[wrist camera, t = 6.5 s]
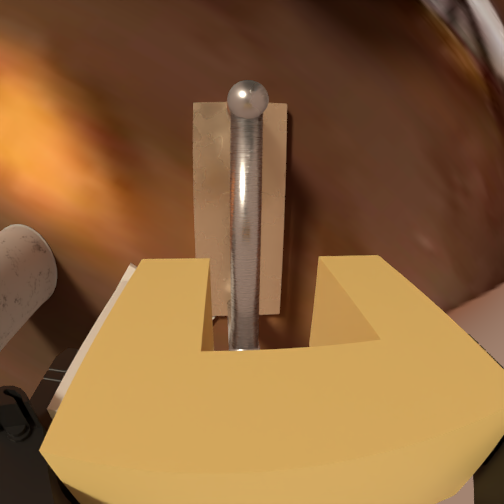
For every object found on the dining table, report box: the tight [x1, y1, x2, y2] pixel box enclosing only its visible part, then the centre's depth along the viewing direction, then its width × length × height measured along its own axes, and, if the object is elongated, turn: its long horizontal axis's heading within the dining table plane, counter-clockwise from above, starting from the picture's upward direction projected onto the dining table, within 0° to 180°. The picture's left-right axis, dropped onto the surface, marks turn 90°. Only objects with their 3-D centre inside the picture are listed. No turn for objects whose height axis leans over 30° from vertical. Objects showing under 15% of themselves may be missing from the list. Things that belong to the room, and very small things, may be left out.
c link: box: [39, 255, 504, 504], centre depth 8 cm, size 9×4×8 cm, turn 89°
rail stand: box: [193, 80, 287, 351], centre depth 25 cm, size 20×8×10 cm, turn 179°
